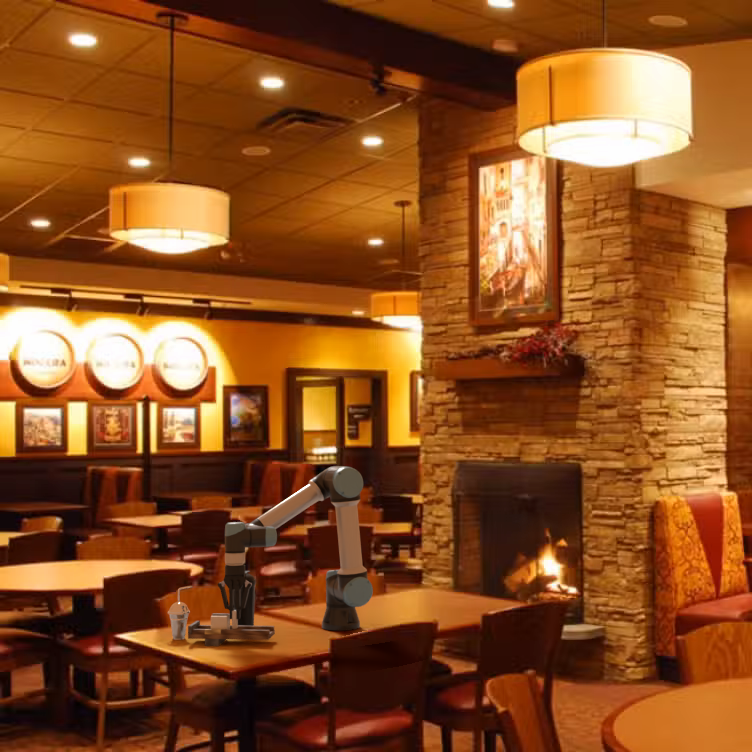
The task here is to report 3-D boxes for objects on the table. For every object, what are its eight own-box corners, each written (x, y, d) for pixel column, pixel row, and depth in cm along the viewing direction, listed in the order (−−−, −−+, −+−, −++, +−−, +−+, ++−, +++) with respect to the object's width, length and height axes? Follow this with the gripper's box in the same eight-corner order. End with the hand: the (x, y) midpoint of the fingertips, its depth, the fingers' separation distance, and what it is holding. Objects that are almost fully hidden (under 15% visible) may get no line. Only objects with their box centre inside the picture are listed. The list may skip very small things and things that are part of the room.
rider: (230, 630, 418) (230, 612, 418) (226, 633, 413) (226, 615, 413) (214, 630, 419) (214, 612, 419) (210, 632, 413) (210, 614, 414)
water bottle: (258, 627, 447) (258, 569, 448) (252, 632, 437) (252, 573, 438) (233, 627, 448) (233, 569, 449) (227, 632, 438) (227, 573, 439)
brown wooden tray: (275, 640, 420) (275, 621, 420) (268, 646, 407) (268, 627, 407) (197, 639, 423) (197, 620, 423) (187, 645, 410) (187, 626, 411)
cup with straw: (176, 635, 430) (176, 583, 431) (195, 637, 426) (195, 584, 427) (162, 639, 423) (162, 586, 424) (182, 641, 419) (182, 587, 420)
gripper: (254, 563, 419) (254, 626, 418) (220, 562, 421) (220, 626, 420) (250, 565, 412) (250, 630, 411) (215, 565, 413) (215, 629, 412)
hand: (234, 628), depth 415 cm, fingers closed
